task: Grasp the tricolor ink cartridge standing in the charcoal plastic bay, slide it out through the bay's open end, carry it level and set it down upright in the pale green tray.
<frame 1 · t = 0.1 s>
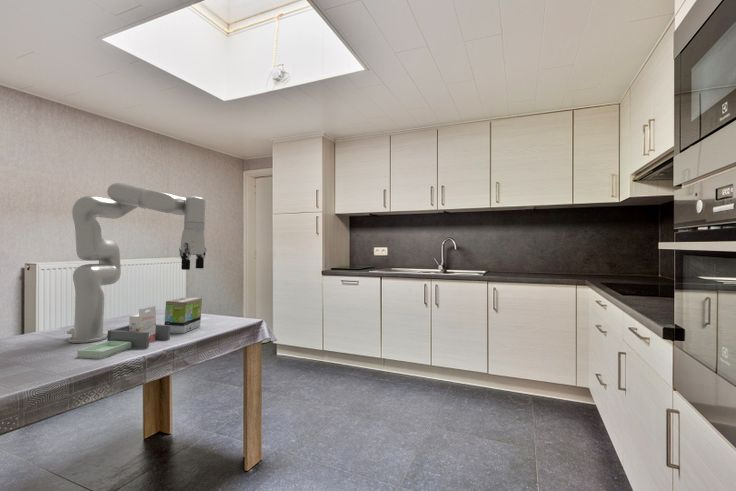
hand: (192, 268, 140), 31 cm above the table, tool pointing down, fingers open, 9 cm apart
tray: (105, 352, 127), on the table
tea box: (183, 330, 165), on the table
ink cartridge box: (142, 343, 141), resting in bay
bay: (139, 342, 141), on the table
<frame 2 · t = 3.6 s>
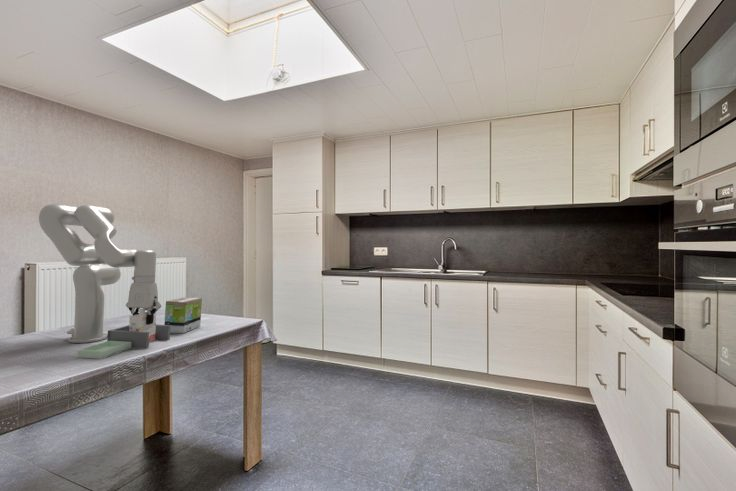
hand: (142, 323, 141), 8 cm above the table, tool pointing down, fingers closed on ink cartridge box, 5 cm apart
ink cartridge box: (142, 343, 141), resting in bay, touching gripper
everything else where it was.
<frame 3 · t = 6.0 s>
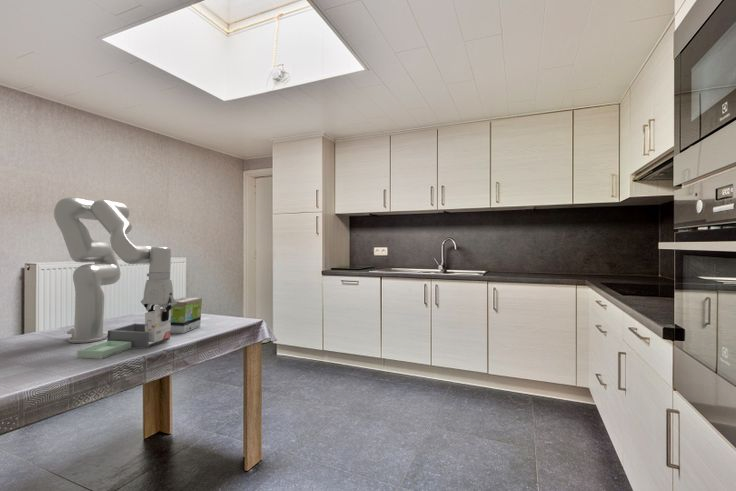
hand: (158, 320, 141), 10 cm above the table, tool pointing down, fingers closed on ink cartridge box, 5 cm apart
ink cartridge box: (157, 340, 141), point 1 cm above the table, touching gripper
everything else where it was.
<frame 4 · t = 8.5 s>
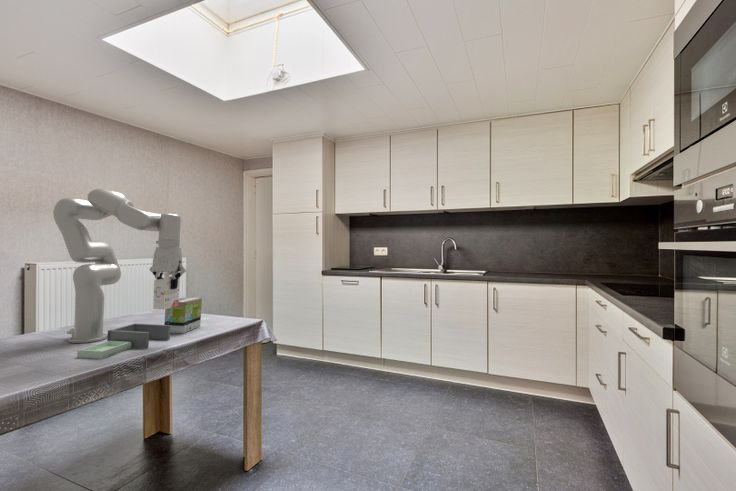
hand: (166, 288, 139), 23 cm above the table, tool pointing down, fingers closed on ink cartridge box, 5 cm apart
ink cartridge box: (165, 308, 139), point 15 cm above the table, touching gripper
everything else where it was.
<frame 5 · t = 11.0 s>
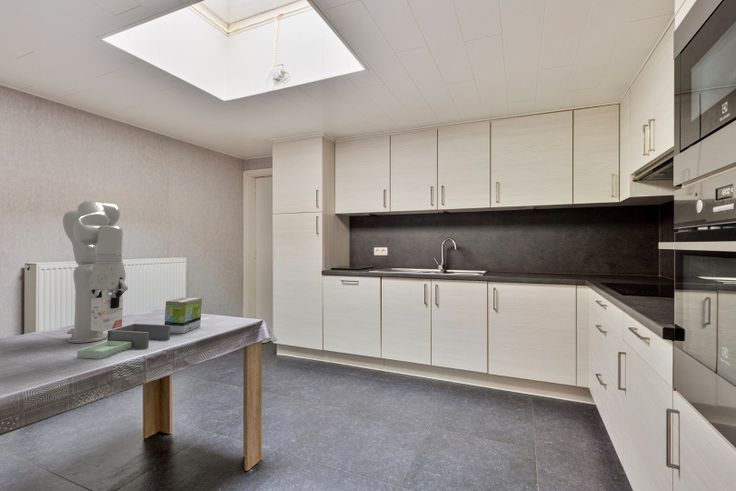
hand: (107, 307, 127), 17 cm above the table, tool pointing down, fingers closed on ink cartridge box, 5 cm apart
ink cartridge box: (106, 329, 127), point 9 cm above the table, touching gripper
everything else where it was.
when the fingers open (10 cm above the table, at t = 13.0 s): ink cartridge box drops 1 cm, resting on tray.
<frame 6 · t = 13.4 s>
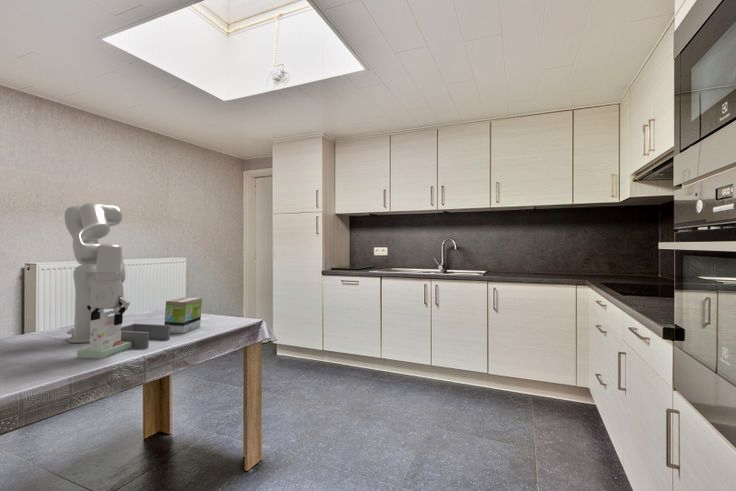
hand: (106, 323, 127), 11 cm above the table, tool pointing down, fingers open, 8 cm apart
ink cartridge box: (105, 350, 127), point 1 cm above the table, touching tray
everything else where it was.
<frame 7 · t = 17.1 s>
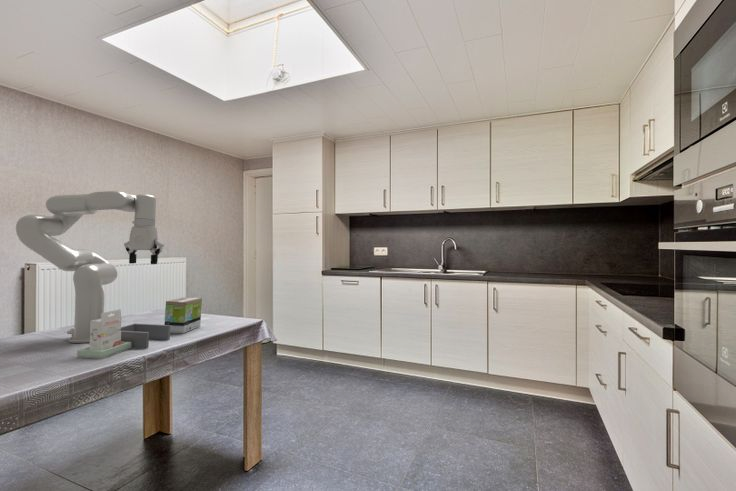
hand: (143, 263, 146), 32 cm above the table, tool pointing down, fingers open, 9 cm apart
nothing on the table moved.
at the end: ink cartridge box inside the target area on the tray (0.2 cm from its centre), point 0.6 cm above the tray's base; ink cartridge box tilted 0°; the gripper is holding nothing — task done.
